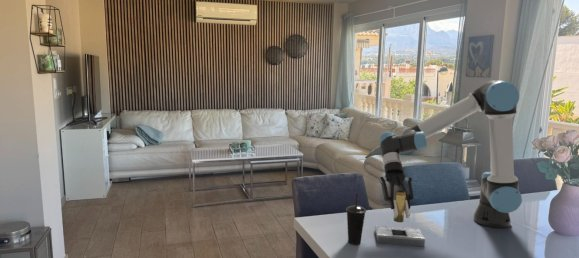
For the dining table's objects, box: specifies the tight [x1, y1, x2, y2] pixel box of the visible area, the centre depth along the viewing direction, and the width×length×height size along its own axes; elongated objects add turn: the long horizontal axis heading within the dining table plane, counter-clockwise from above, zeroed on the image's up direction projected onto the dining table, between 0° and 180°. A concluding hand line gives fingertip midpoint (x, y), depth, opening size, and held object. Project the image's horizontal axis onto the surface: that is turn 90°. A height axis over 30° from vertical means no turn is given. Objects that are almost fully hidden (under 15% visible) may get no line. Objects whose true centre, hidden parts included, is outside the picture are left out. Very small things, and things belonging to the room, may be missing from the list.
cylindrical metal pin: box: [393, 189, 407, 223], centre depth 166 cm, size 4×4×12 cm
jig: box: [374, 225, 426, 247], centre depth 168 cm, size 18×12×3 cm, turn 83°
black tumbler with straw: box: [345, 192, 367, 246], centre depth 162 cm, size 8×8×20 cm
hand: (402, 216), depth 163 cm, fingers closed on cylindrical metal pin, 4 cm apart
